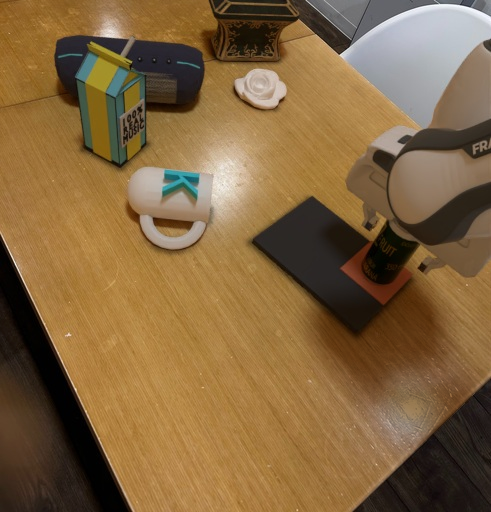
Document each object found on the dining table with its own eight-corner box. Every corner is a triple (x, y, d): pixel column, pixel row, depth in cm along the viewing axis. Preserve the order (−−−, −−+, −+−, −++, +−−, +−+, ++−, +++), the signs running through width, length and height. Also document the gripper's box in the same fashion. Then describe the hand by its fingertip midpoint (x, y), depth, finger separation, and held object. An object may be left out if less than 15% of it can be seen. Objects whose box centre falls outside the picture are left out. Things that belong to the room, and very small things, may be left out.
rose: (285, 60, 95) (294, 91, 90) (280, 80, 99) (289, 111, 93) (234, 56, 93) (240, 89, 88) (230, 77, 97) (236, 109, 91)
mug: (126, 150, 67) (215, 161, 68) (132, 175, 76) (210, 184, 77) (115, 234, 64) (207, 243, 66) (122, 249, 73) (203, 257, 74)
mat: (410, 278, 74) (413, 274, 73) (356, 334, 67) (359, 330, 66) (310, 199, 81) (312, 194, 80) (251, 242, 74) (253, 237, 73)
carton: (151, 142, 83) (151, 42, 68) (121, 168, 78) (115, 67, 64) (114, 123, 84) (107, 21, 70) (84, 148, 80) (69, 44, 65)
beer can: (381, 253, 75) (415, 199, 65) (402, 281, 72) (440, 230, 63) (352, 262, 73) (383, 209, 63) (372, 292, 70) (407, 240, 61)
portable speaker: (56, 108, 84) (46, 55, 76) (62, 73, 90) (53, 20, 82) (203, 117, 89) (209, 68, 81) (200, 83, 94) (205, 33, 86)
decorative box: (277, 37, 108) (299, -62, 92) (289, 63, 103) (314, -37, 87) (186, 35, 103) (192, -70, 87) (193, 63, 98) (202, -44, 82)
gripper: (534, 216, 55) (471, 284, 66) (387, 117, 62) (351, 194, 73) (510, 245, 52) (448, 311, 63) (357, 137, 58) (325, 214, 69)
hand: (395, 247), depth 68 cm, fingers open, 8 cm apart
